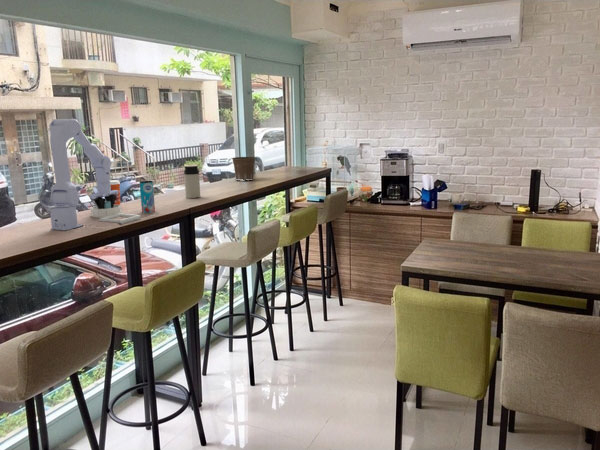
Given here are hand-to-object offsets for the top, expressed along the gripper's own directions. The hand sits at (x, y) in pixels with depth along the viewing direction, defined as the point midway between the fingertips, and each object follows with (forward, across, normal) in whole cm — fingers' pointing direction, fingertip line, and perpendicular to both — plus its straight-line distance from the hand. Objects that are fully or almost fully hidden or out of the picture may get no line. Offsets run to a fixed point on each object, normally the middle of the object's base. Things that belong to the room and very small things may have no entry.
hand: (106, 212), depth 230 cm
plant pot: (+2, -135, -7) cm, 135 cm away
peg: (+1, 0, 0) cm, 1 cm away
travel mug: (+2, -60, +4) cm, 60 cm away
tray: (+2, +6, +14) cm, 15 cm away
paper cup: (+2, -16, -11) cm, 20 cm away
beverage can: (+2, -13, +13) cm, 19 cm away
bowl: (+2, 0, 0) cm, 2 cm away
